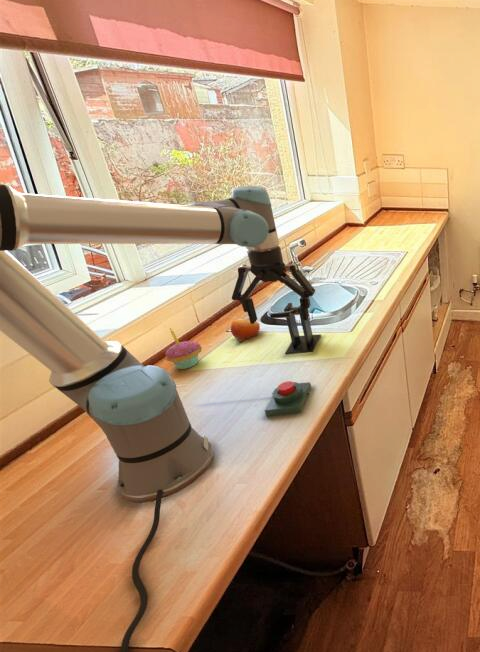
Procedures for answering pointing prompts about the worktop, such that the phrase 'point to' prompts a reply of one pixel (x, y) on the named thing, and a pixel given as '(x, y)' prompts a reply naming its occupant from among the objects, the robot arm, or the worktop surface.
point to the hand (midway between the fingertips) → (280, 319)
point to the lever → (286, 313)
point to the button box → (288, 401)
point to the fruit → (244, 329)
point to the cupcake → (183, 353)
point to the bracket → (300, 342)
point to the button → (286, 388)
